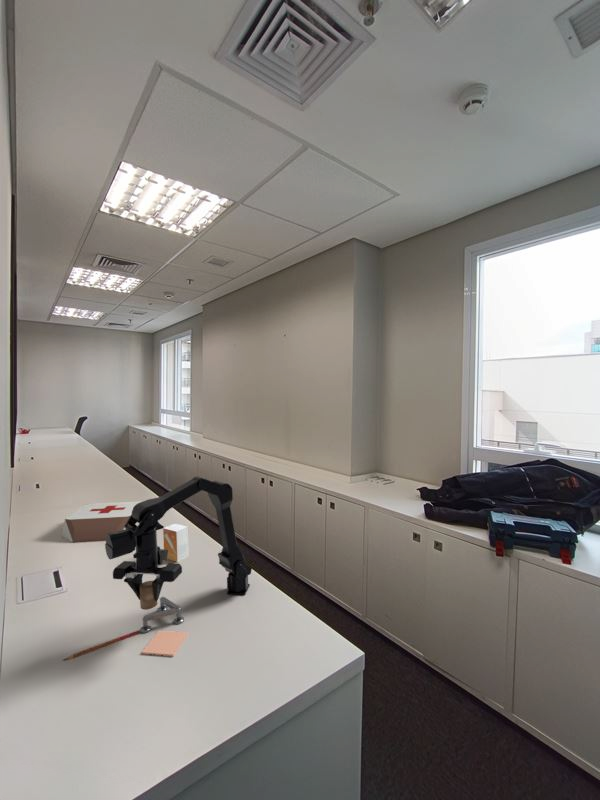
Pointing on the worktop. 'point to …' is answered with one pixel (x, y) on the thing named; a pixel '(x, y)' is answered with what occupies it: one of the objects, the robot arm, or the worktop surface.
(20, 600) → the worktop surface
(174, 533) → the small box
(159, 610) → the dark grey bent piece
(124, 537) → the robot arm
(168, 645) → the terracotta mat
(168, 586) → the worktop surface
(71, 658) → the pencil
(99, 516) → the first aid kit
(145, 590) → the wooden dowel cylinder
